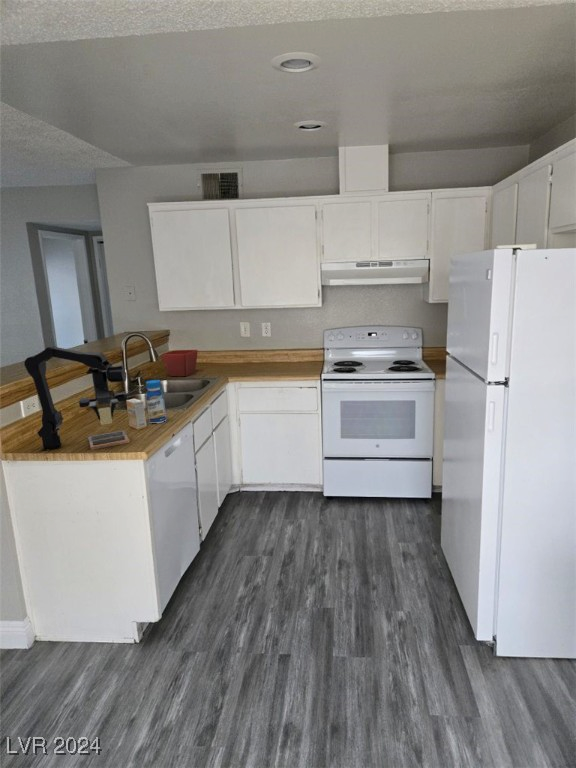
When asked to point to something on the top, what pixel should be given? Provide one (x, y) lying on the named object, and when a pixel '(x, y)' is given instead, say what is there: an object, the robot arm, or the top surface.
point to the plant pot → (180, 362)
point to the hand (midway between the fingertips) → (105, 419)
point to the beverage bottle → (155, 402)
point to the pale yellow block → (105, 416)
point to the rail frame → (108, 439)
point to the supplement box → (136, 413)
